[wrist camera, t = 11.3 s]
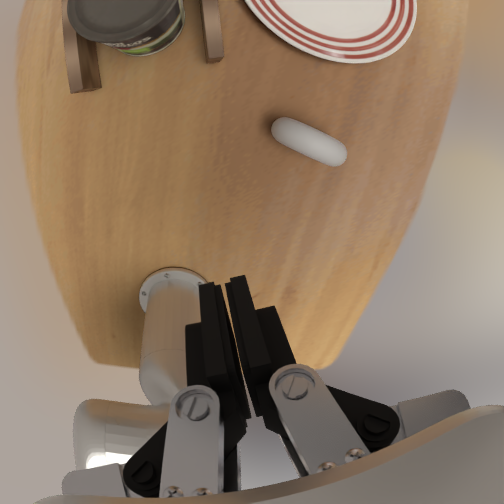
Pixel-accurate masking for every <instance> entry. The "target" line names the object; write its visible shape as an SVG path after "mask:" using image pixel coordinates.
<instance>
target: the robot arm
mask: <svg viewBox="0 0 504 504" xmlns="http://www.w3.org/2000/svg"><path fill="white" fill-rule="evenodd" d="M230 281H231V282H229V283H225V287H226V292H227V297H228V302H229V308H230V313H231V318H232V323H233V328H234V333H235V338H236V342H235V338H234V334H233V330H232V327H231V323H230V319H229V315H228V312H227V308H226V304H225V300H224V297H223V293H222V289H221V285H214V282H210V283H207V282H206V281H205V279H203V278H202V277H201V276H200V275H198V274H197V273H195V272H193V271H190V270H187V269H183V268H165V269H161V270H158V271H156V272H154V273H152V274H151V275H150V276H148V277H147V278H146V279H145V281H144V282H143V283H142V286H141V288H140V293H139V301H140V305H141V308H142V310H143V311H144V312H145V322H144V330H143V338H142V347H141V357H140V368H139V380H140V384H141V387H142V390H143V392H144V393H145V395H146V397H147V399H148V400H149V401H150V403H151V404H152V405H139V404H130V403H123V402H117V401H109V400H101V399H89V400H85V401H83V402H82V403H81V404H80V405H79V406H78V408H77V410H76V412H75V416H74V423H73V442H74V443H73V444H74V454H75V464H76V471H72V472H69V473H68V474H67V475H66V476H65V477H64V479H63V481H62V492H63V495H56V496H51V497H47V498H44V499H41V500H39V501H37V502H35V503H34V504H504V406H501V405H487V406H480V407H476V408H472V409H471V408H470V406H469V403H468V400H467V399H466V397H465V395H464V394H462V393H461V392H460V391H457V390H446V391H443V392H439V393H435V394H432V395H428V396H424V397H420V398H416V399H412V400H407V401H402V402H399V403H398V404H397V405H395V406H389V407H388V406H387V405H384V404H381V403H378V402H375V401H371V400H368V399H365V398H362V397H359V396H356V395H353V394H350V393H347V392H345V391H342V390H339V389H336V388H333V387H330V386H327V385H325V384H324V382H323V381H322V379H321V378H320V376H319V375H318V373H317V372H316V371H315V370H314V369H312V368H311V367H309V366H307V365H302V364H297V363H296V361H295V358H294V355H293V353H292V350H291V348H290V345H289V342H288V340H287V337H286V334H285V332H284V329H283V326H282V324H281V321H280V318H279V316H278V313H277V311H276V308H275V306H270V307H266V308H262V309H257V310H255V308H254V304H253V301H252V297H251V294H250V291H249V287H248V284H247V280H246V277H245V275H242V276H237V277H233V278H230ZM236 343H237V347H236ZM237 348H238V352H237ZM238 353H239V357H238ZM239 358H240V361H239ZM240 362H241V366H240ZM241 367H242V371H243V374H244V378H245V381H246V384H247V388H248V391H249V394H250V397H251V401H252V403H253V407H254V410H255V414H256V416H257V417H259V416H263V419H264V423H265V426H266V428H267V429H269V430H271V431H273V432H275V433H277V434H278V435H279V437H280V440H281V442H282V443H283V446H284V448H285V450H286V452H287V454H288V456H289V457H290V460H291V462H292V464H293V466H294V468H295V470H296V471H297V474H298V476H299V477H300V478H298V479H294V480H290V481H286V482H282V483H278V484H273V485H269V486H263V487H258V488H253V489H247V490H241V463H240V462H241V460H240V440H241V438H242V437H243V436H244V435H245V434H246V427H247V423H246V419H249V418H251V413H250V408H249V404H248V399H247V395H246V390H245V385H244V380H243V376H242V371H241Z"/></svg>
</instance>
